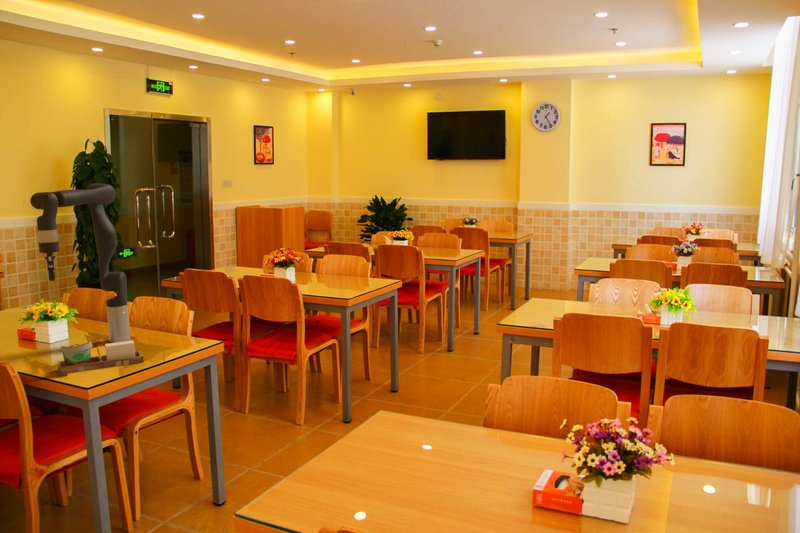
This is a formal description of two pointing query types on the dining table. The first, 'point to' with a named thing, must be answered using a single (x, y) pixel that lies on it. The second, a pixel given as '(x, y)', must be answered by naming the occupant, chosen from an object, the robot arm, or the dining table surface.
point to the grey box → (120, 350)
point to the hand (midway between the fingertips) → (52, 279)
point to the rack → (98, 363)
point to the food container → (77, 354)
